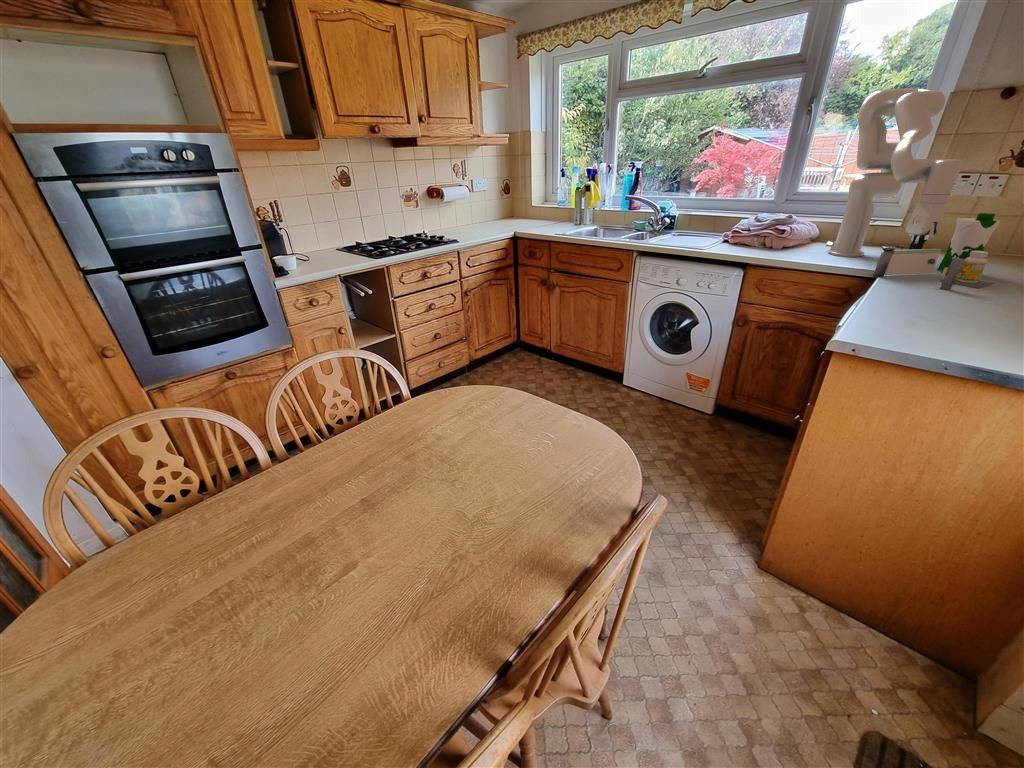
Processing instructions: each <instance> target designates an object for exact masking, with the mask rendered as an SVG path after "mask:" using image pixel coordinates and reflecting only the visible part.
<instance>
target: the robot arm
mask: <svg viewBox="0 0 1024 768" xmlns="http://www.w3.org/2000/svg"><path fill="white" fill-rule="evenodd" d="M945 102H946V96H945V94H944V92H942V91H941V90H936V89H927V88H918V87H916V88H915V87H914V88H912V87H908V88H906V87H905V88H904V87H903V88H885V89H884V88H883V89H880V90H876V91H874V92H872V93H870V94H869V95H867V97H865V99H864V100H863V102H862V104H861V106H860V107H859V111H858V115H857V116H858V117H857V124H858V125H857V126H858V140H857V141H858V142H857V143H858V144H857V145H858V146H857V153H856V154H857V155H856V166H857V168H858V169H859V170H861V171H879V170H880V172H867V173H866V172H865V173H862V174H859V175H857V176H856V177H854V178H853V179H852V180H851V182H850V185H849V188H848V197H847V204H846V207H845V211H844V213H843V218H842V220H841V224H840V226H839V227H840V228H839V230H838V233H837V237H836V239H835V241H827V242H826V244H825V247H830V249H829V250H828V254H830V255H833V256H839V257H849V258H850V257H852V258H855V257H863V256H864V255H865V252H864V251H863V250H862V248H863V244H864V242H865V238H866V236H867V232H868V229H869V227H870V223H871V222H872V217H873V215H874V211H875V206H874V202H873V199H888V198H892V197H894V196H895V195H897V194H898V193H899V192H900V191H901V189H902V186H903V184H922V183H923V184H924V185H923V189H922V191H921V194H920V196H919V199H918V202H917V203H916V205H915V207H914V209H913V211H912V213H911V215H910V216H909V217H910V218H909V219H908V222H907V225H906V228H905V233H907V234H908V236H910V245H909V247H908V250H911V249H924V248H923V247H924V244H926V243H927V241H929V240H932V239H933V238H934V237H933V236H934V235H936V234H938V232H939V230H940V228H941V225H942V222H943V219H944V215H945V212H946V206H947V205H948V202H949V200H950V198H951V195H952V192H953V189H954V187H955V184H956V181H957V179H958V176H959V174H960V171H961V169H962V166H963V160H962V159H960V158H949V159H948V158H946V159H945V158H944V159H942V158H916V159H915V158H914V157H913V153H912V152H913V151H912V145H914V144H916V143H918V142H920V141H922V140H924V139H925V138H926V137H927V136H929V135H930V134H931V133H932V131H933V129H934V127H933V123H932V118H934V117H935V116H937V115H938V114H939V113H940V112H941V111H942V110H943V109H944V106H945V104H946V103H945ZM883 116H895V120H896V127H897V131H898V134H899V135H898V137H899V141H898V142H887V131H888V130H887V126H886V122H885V121H884V120H883V118H882V117H883Z"/></svg>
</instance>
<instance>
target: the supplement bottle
mask: <svg viewBox="0 0 1024 768" xmlns="http://www.w3.org/2000/svg"><path fill="white" fill-rule="evenodd" d="M988 255H989V252H988V251H985V250H984V251H971V253H970V257H968V258H966V259H965V260H964V262H963V264H962V267H961V269H960V271H959V273H958V275H957V278H956V280H957V281H960V282H965V283H977V282H978V280H980V278H981V275H982V274H983V272H984V270H985V268H986V265H987V264H988V259H987V256H988Z"/></svg>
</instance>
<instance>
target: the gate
mask: <svg viewBox="0 0 1024 768" xmlns="http://www.w3.org/2000/svg"><path fill="white" fill-rule="evenodd" d="M942 251H943V250H942V249H941V248H922V249H911V250H909V249H895V250H894V251H893V253H892V256H891V259H890V261H889V264H888V267H887V269H886V272H885V275H884V276H896V275H898V276H899V275H930V274H932V273H933V271H934V268H935V266H936V263H937V262H938V259H939V256H940V255H941V253H942Z"/></svg>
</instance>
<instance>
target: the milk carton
mask: <svg viewBox="0 0 1024 768" xmlns="http://www.w3.org/2000/svg"><path fill="white" fill-rule="evenodd" d="M995 216H996V214H995V213H990V212H989V213H988V212H979V213H978V214H977V216H976V217H971V218H970V217H969V218H968V217H967V218H956V225H955V230H954V234H953V236H952V238H951V240H950V243H949V245H948V247H947V250H946V252H945V254H944V256H943V258H942V260H941V262H940V264H939V265H938V267H937V269H936V270H937V271H940V272H942V273H943V271H944V268H946V267H948V268H949V267H950V264H951V262H952V260H953V259H954V258H960V259H964V260H965V259H966V258H968V257H970V253H971V251H985V249H986V246H987V245H988V242H989V241H990V238H991V236H992V234H993V232H994V231H995V230H996V228H997V227H998V225H999V224H1000V223H1001V220H998V219H997V220H996V219H994V218H995ZM963 262H964V261H963ZM961 267H962V266H961ZM960 269H961V268H960ZM959 271H960V270H959ZM958 273H959V272H958Z"/></svg>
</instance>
